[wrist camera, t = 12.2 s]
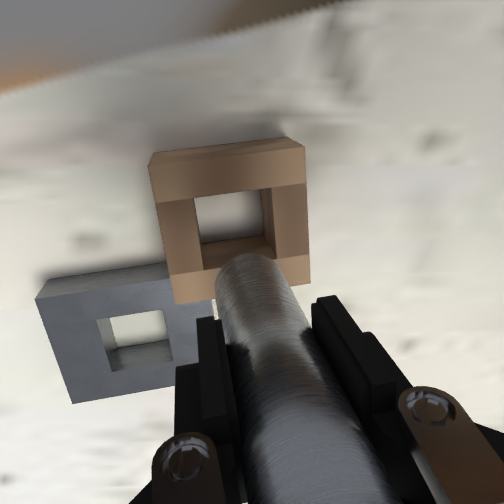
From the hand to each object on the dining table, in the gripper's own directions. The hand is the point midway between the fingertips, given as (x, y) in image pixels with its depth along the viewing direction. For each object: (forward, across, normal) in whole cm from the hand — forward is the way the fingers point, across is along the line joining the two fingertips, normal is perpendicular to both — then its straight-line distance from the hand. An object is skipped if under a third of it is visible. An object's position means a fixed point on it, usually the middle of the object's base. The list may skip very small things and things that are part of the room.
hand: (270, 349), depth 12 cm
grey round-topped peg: (+4, 0, 0) cm, 4 cm away
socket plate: (+15, +7, +7) cm, 18 cm away
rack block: (+15, 0, 0) cm, 15 cm away
